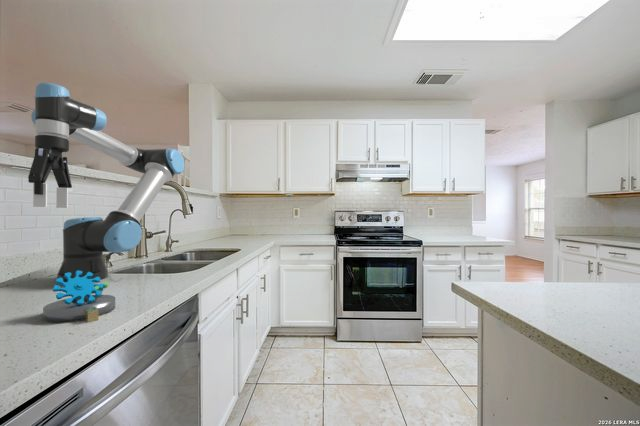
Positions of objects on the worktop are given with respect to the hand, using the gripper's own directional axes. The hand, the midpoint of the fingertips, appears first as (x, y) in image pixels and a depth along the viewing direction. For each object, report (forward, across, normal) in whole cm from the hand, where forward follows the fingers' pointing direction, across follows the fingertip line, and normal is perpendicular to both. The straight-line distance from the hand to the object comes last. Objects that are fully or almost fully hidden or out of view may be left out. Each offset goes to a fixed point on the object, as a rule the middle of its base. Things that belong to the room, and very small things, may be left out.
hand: (52, 207), depth 88 cm
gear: (+24, +21, +14) cm, 35 cm away
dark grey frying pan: (+27, +22, +15) cm, 38 cm away
